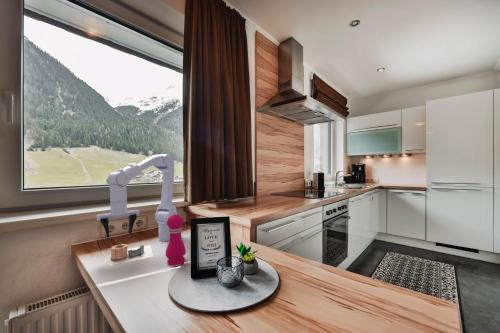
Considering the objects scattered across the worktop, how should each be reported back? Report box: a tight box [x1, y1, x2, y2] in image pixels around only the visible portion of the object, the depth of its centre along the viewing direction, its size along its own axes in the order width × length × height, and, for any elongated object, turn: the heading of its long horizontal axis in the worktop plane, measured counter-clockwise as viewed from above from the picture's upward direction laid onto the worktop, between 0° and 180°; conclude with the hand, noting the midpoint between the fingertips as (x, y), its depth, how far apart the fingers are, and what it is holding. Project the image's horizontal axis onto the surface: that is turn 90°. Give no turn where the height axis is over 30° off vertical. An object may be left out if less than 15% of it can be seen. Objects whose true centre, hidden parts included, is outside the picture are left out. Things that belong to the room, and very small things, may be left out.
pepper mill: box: [165, 210, 187, 268], centre depth 82 cm, size 7×7×20 cm
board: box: [109, 244, 154, 266], centre depth 91 cm, size 15×16×1 cm
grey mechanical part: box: [128, 245, 145, 258], centre depth 90 cm, size 6×5×3 cm
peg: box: [110, 244, 128, 261], centre depth 87 cm, size 6×6×5 cm
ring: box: [110, 243, 129, 260], centre depth 87 cm, size 6×6×4 cm
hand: (119, 235), depth 87 cm, fingers open, 7 cm apart
